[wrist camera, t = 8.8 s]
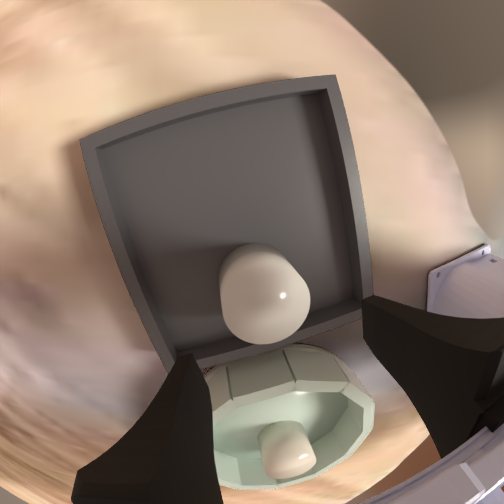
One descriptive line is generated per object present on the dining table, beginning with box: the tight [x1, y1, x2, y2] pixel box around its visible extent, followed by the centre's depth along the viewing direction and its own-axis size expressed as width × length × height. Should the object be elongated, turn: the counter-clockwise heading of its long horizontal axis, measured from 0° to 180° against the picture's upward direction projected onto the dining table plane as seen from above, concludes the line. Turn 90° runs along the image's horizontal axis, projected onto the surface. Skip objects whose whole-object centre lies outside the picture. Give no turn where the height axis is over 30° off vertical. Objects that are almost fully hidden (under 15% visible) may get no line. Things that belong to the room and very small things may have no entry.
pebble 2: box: [257, 420, 316, 479], centre depth 22 cm, size 4×4×4 cm
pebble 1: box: [218, 243, 310, 344], centre depth 16 cm, size 4×4×4 cm
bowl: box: [203, 344, 375, 490], centre depth 21 cm, size 16×16×4 cm
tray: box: [80, 75, 373, 374], centre depth 17 cm, size 15×16×2 cm
